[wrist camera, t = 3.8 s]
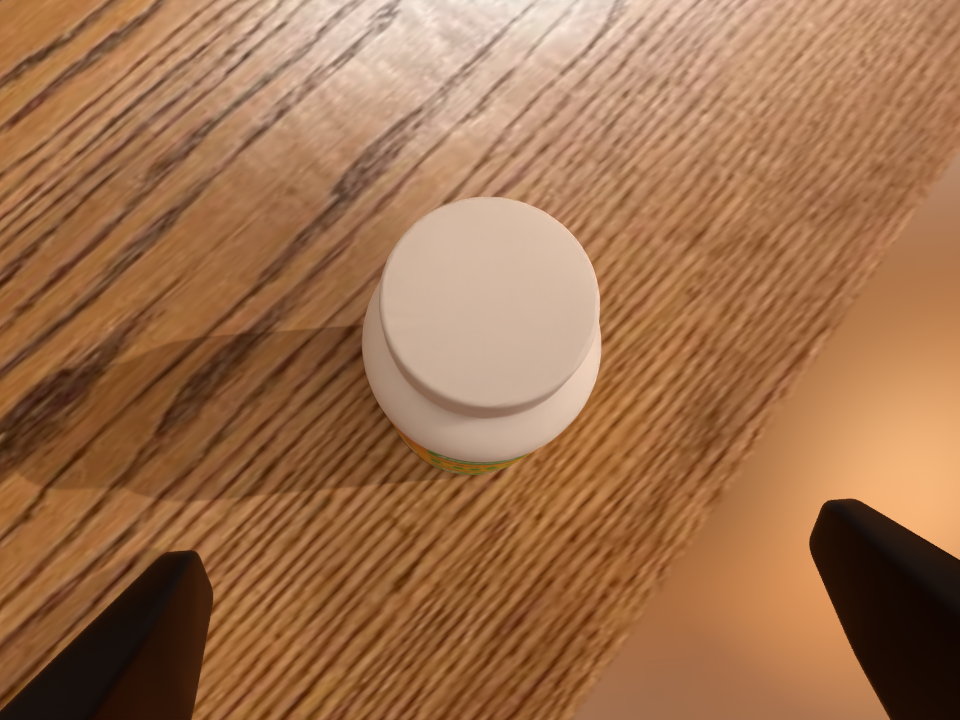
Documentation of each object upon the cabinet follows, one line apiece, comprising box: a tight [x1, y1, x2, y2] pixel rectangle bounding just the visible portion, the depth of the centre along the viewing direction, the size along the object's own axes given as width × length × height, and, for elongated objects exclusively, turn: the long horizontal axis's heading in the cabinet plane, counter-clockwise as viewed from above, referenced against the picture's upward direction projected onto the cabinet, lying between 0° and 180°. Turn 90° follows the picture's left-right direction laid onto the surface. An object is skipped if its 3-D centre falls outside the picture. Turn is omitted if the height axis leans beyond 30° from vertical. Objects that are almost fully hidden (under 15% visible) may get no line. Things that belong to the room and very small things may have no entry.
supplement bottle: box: [362, 197, 601, 475], centre depth 15 cm, size 5×5×10 cm
